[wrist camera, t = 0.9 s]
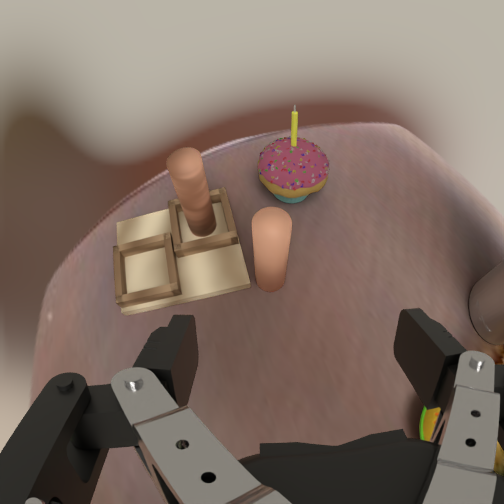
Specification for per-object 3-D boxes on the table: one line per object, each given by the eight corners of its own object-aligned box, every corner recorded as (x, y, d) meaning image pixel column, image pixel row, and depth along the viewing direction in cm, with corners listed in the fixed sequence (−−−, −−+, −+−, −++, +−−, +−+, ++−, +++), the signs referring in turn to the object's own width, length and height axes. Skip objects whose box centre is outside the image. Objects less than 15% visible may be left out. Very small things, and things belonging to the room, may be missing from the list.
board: (227, 200, 41) (216, 126, 30) (250, 287, 35) (244, 226, 24) (120, 227, 39) (79, 164, 29) (125, 315, 34) (70, 269, 23)
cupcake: (255, 167, 43) (252, 95, 32) (317, 163, 43) (328, 93, 32) (261, 219, 39) (259, 147, 28) (330, 214, 39) (349, 143, 28)
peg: (280, 261, 36) (285, 203, 27) (288, 287, 35) (297, 235, 25) (252, 268, 36) (247, 211, 26) (259, 295, 35) (257, 244, 25)
